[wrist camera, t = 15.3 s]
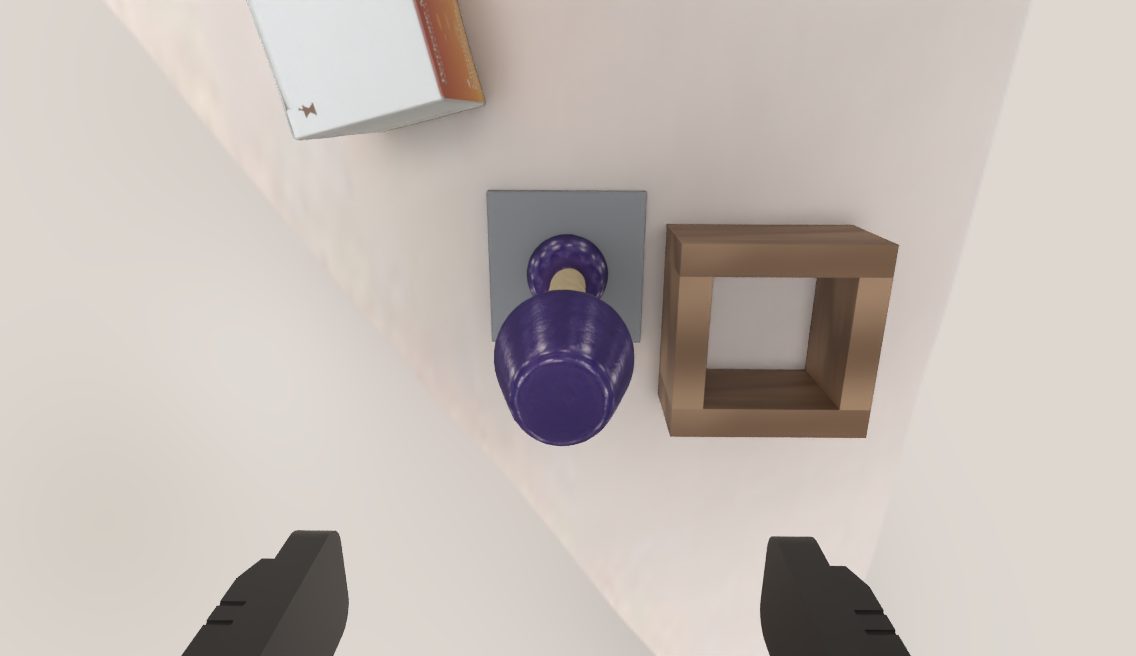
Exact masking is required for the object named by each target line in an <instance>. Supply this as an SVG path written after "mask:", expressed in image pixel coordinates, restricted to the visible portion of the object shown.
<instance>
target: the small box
mask: <svg viewBox="0 0 1136 656" xmlns="http://www.w3.org/2000/svg"><path fill="white" fill-rule="evenodd" d="M246 1H247V4H248V6H249V9H250V12H251V14H252V17H253V20H254V23H255V26H256V28H257V31H258V34H259V37H260V39H261V42H262V45H263V48H264V51H265V53H266V56H267V59H268V61H269V64H270V68H271V70H272V73H273V76H274V79H275V82H276V85H277V88H278V91H279V94H280V96H281V99H282V102H283V106H284V110H285V113H286V117H287V120H288V123H289V126H290V129H291V133H292V136H293V138H294V139H296V140H310V139H320V138H329V137H336V136H344V135H353V134H364V133H376V132H383V131H387V130H391V129H395V128H399V127H403V126H407V125H411V124H415V123H419V122H423V121H427V120H430V119H434V118H438V117H442V116H445V115H449V114H453V113H456V112H460V111H464V110H468V109H472V108H476V107H479V106H483V105H484V104H485V99H484V96H483V93H482V89H481V86H480V82H479V79H478V76H477V73H476V70H475V66H474V63H473V59H472V56H471V52H470V48H469V45H468V41H467V37H466V33H465V30H464V26H463V22H462V18H461V14H460V10H459V6H458V3H457V0H246Z"/></svg>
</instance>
